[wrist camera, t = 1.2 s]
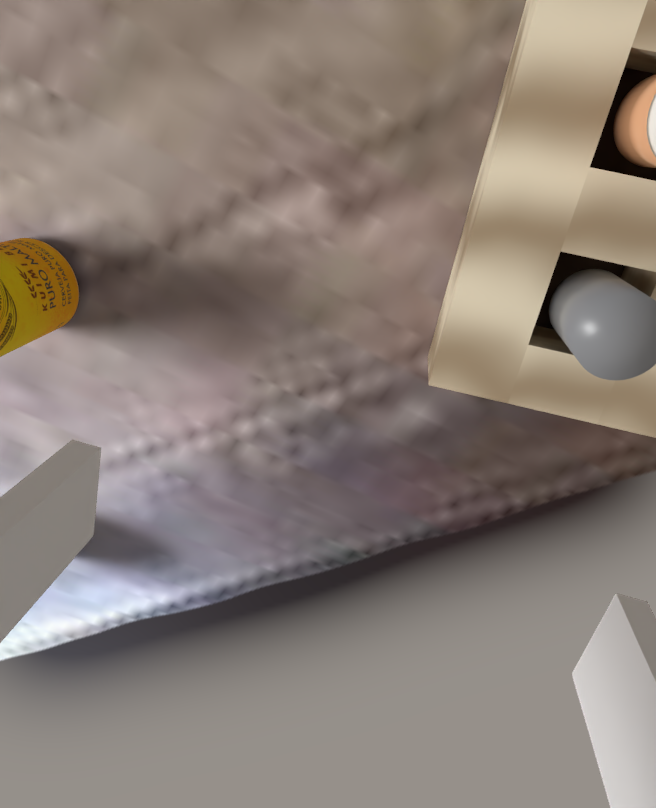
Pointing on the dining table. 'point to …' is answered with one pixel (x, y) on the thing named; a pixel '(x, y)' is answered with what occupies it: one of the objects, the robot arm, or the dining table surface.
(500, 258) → the socket board
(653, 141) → the plug terracotta
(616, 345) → the grey plug
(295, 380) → the dining table surface
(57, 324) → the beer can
